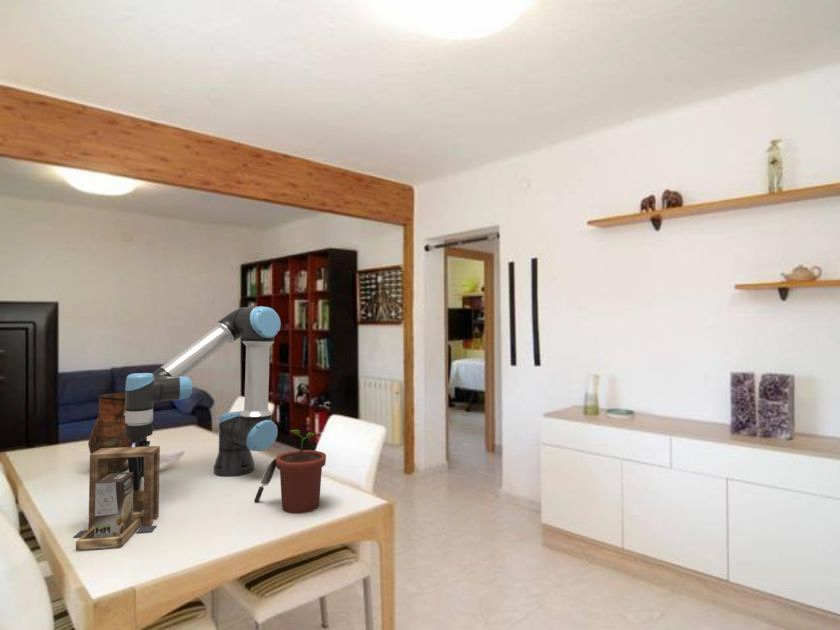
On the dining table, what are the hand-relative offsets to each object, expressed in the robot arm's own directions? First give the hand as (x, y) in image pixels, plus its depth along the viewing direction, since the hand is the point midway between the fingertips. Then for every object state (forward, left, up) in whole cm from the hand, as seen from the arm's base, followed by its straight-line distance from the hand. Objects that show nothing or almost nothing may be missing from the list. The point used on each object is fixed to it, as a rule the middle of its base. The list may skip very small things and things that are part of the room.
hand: (137, 499), depth 151 cm
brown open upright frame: (0, +10, -3) cm, 11 cm away
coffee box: (-1, +19, -4) cm, 19 cm away
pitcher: (+26, -47, -4) cm, 54 cm away
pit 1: (+8, +16, -3) cm, 18 cm away
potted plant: (-48, +4, -4) cm, 48 cm away
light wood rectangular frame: (0, +14, -3) cm, 14 cm away
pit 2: (-8, +16, -3) cm, 18 cm away
